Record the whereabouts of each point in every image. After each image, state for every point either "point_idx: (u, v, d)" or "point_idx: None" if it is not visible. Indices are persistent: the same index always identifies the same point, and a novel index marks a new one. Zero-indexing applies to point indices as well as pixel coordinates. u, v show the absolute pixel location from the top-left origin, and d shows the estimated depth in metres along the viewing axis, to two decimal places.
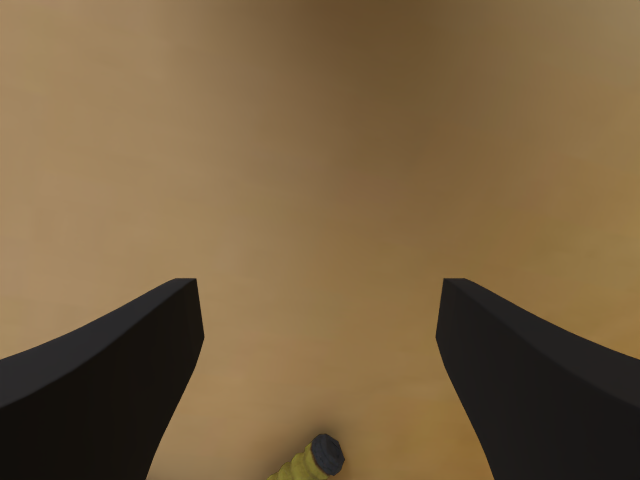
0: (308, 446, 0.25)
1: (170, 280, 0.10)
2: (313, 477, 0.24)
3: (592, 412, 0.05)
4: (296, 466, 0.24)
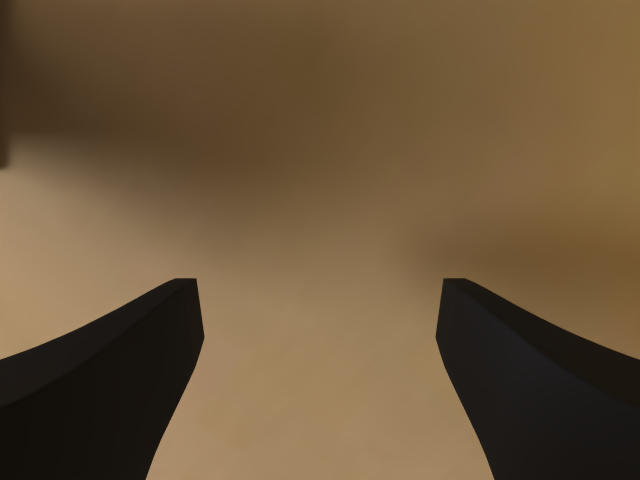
0: None
1: (170, 280, 0.10)
2: None
3: (592, 412, 0.05)
4: None
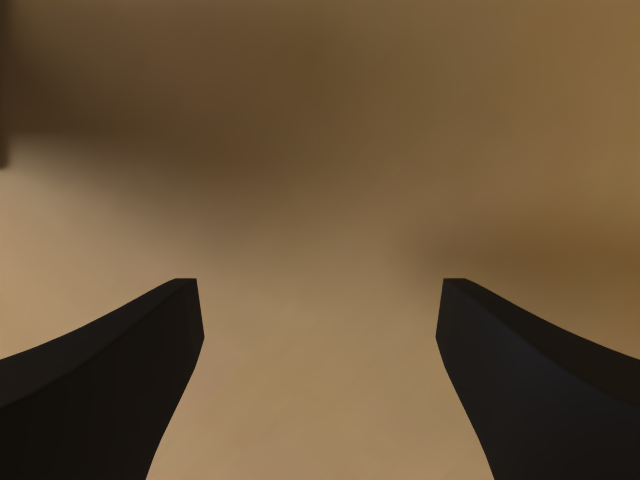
0: None
1: (170, 280, 0.10)
2: None
3: (592, 412, 0.05)
4: None
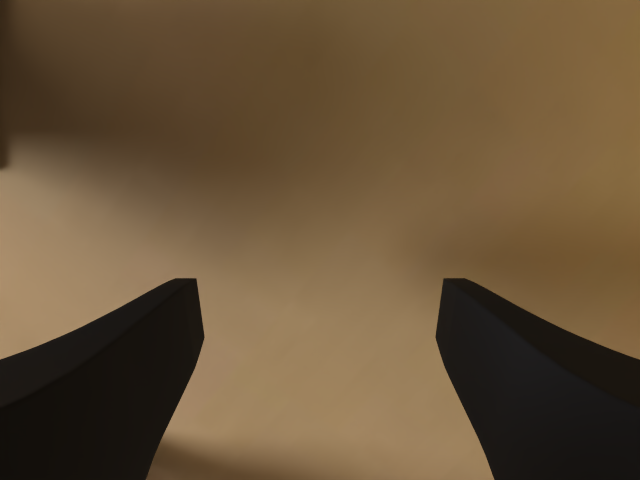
0: None
1: (170, 280, 0.10)
2: None
3: (592, 412, 0.05)
4: None
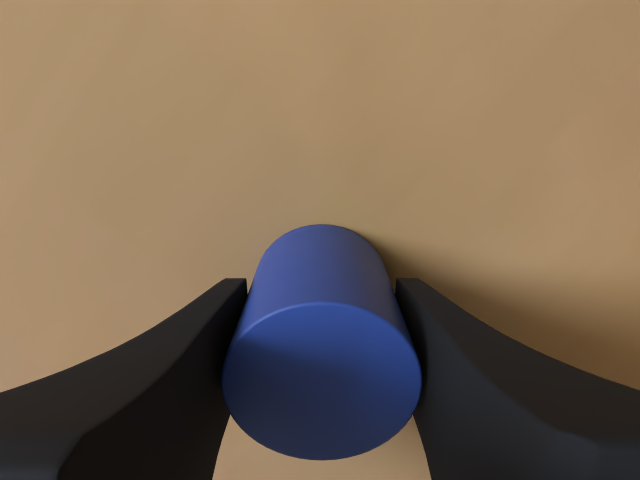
0: None
1: (222, 280, 0.10)
2: None
3: (494, 412, 0.05)
4: None
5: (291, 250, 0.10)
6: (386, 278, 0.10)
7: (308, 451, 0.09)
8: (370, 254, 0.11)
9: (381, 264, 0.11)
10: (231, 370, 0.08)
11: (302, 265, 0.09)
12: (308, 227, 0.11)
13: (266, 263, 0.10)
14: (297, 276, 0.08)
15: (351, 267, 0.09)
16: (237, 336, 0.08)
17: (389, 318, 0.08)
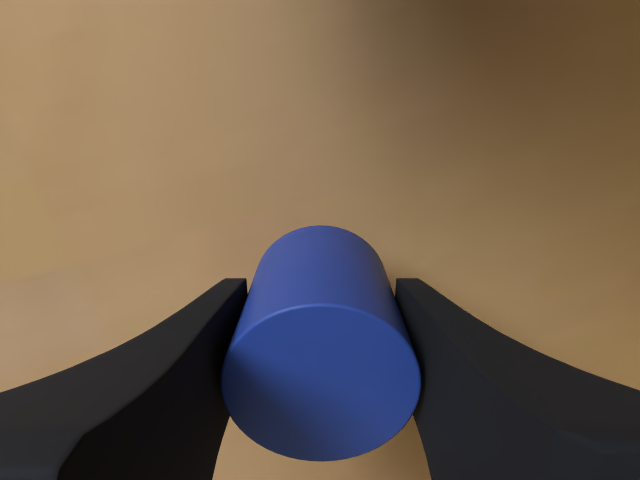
0: None
1: (222, 280, 0.10)
2: None
3: (494, 412, 0.05)
4: None
5: (290, 251, 0.10)
6: (385, 279, 0.10)
7: (308, 452, 0.09)
8: (369, 255, 0.11)
9: (380, 265, 0.11)
10: (230, 371, 0.08)
11: (301, 266, 0.09)
12: (307, 228, 0.11)
13: (265, 264, 0.10)
14: (297, 277, 0.08)
15: (350, 268, 0.09)
16: (236, 337, 0.08)
17: (389, 319, 0.08)
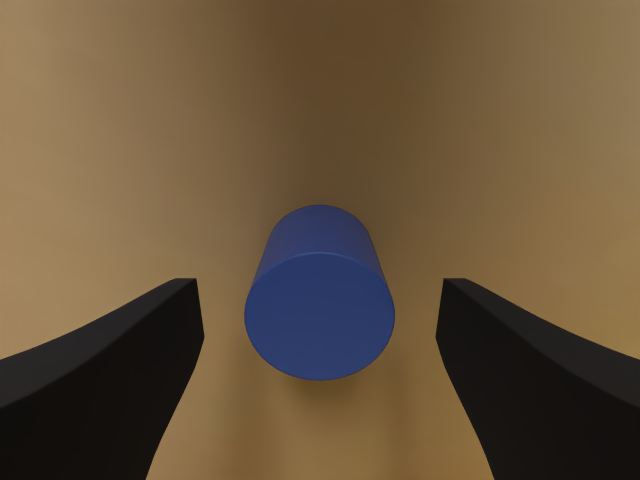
0: None
1: (170, 280, 0.10)
2: None
3: (592, 412, 0.05)
4: None
5: (296, 222, 0.13)
6: (370, 244, 0.13)
7: (309, 372, 0.11)
8: (358, 227, 0.13)
9: (367, 236, 0.14)
10: (252, 305, 0.10)
11: (305, 231, 0.11)
12: (309, 207, 0.14)
13: (276, 233, 0.13)
14: (301, 237, 0.11)
15: (342, 232, 0.12)
16: (257, 279, 0.10)
17: (369, 265, 0.10)
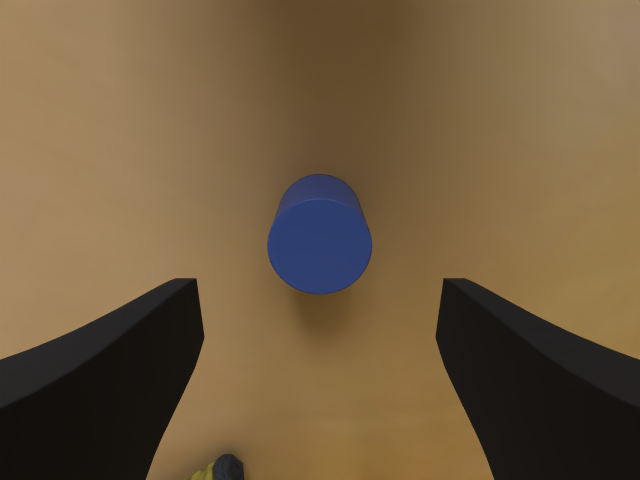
0: (211, 465, 0.25)
1: (170, 280, 0.10)
2: None
3: (592, 412, 0.05)
4: None
5: (302, 184, 0.17)
6: (357, 201, 0.17)
7: (312, 288, 0.16)
8: (348, 189, 0.18)
9: (355, 196, 0.18)
10: (273, 236, 0.15)
11: (309, 188, 0.16)
12: (312, 175, 0.19)
13: (287, 193, 0.18)
14: (307, 191, 0.16)
15: (335, 190, 0.16)
16: (277, 218, 0.15)
17: (354, 208, 0.15)
